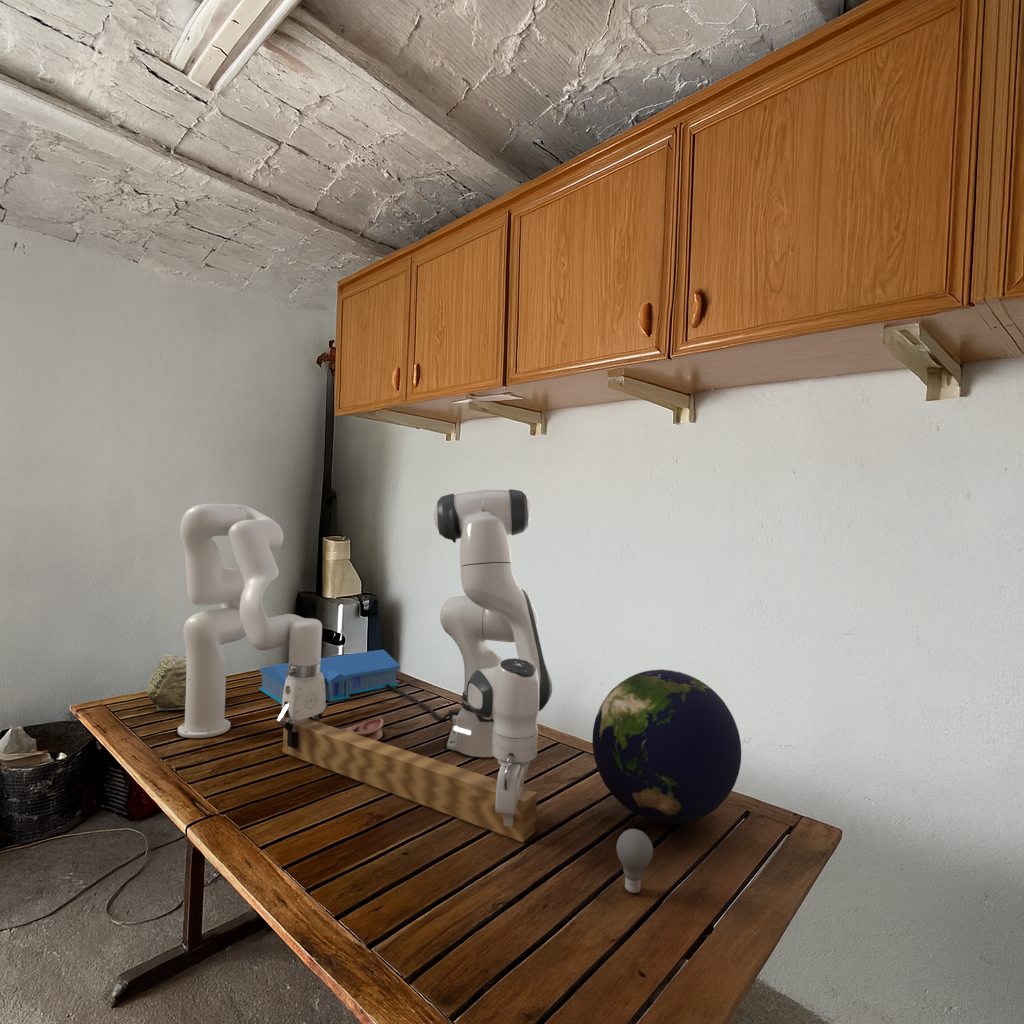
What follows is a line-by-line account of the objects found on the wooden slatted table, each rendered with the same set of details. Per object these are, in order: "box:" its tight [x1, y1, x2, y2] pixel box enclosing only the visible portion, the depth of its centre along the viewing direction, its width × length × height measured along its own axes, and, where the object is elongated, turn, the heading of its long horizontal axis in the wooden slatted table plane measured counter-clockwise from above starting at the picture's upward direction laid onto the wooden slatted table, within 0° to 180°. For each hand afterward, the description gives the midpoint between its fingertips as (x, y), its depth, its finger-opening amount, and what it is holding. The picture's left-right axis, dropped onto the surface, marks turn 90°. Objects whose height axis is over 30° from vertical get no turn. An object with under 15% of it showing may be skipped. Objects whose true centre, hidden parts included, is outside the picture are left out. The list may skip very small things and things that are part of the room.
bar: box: [282, 719, 538, 843], centre depth 139 cm, size 69×5×8 cm, turn 58°
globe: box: [592, 668, 742, 825], centre depth 132 cm, size 30×30×30 cm
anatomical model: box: [340, 717, 384, 741], centre depth 167 cm, size 13×4×12 cm
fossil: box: [147, 654, 187, 712], centre depth 185 cm, size 9×18×15 cm, turn 132°
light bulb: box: [615, 828, 654, 894], centre depth 106 cm, size 6×6×10 cm
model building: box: [258, 649, 401, 705], centre depth 208 cm, size 39×24×10 cm, turn 132°
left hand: (301, 742), depth 155 cm, fingers closed on bar, 4 cm apart
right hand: (511, 815), depth 124 cm, fingers closed on bar, 6 cm apart
